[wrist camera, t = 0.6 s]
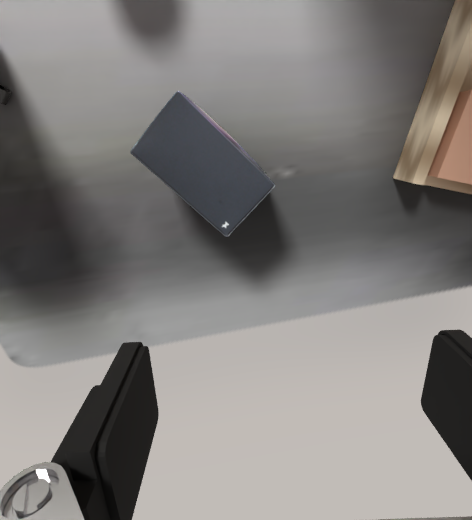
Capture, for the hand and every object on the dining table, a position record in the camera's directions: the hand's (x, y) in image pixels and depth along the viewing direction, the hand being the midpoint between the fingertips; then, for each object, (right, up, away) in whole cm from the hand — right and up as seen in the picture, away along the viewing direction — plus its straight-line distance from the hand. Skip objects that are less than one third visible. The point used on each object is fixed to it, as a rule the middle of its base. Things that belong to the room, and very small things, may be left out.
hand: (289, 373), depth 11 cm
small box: (-4, +15, +25) cm, 30 cm away
